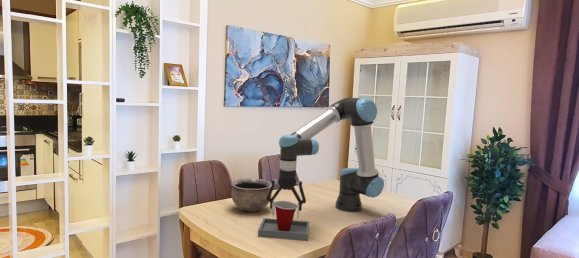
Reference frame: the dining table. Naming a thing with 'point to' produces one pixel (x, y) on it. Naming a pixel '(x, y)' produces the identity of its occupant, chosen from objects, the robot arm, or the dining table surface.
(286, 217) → the plastic cup
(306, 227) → the cup tray
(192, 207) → the dining table surface
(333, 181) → the dining table surface
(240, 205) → the ceramic bowl
